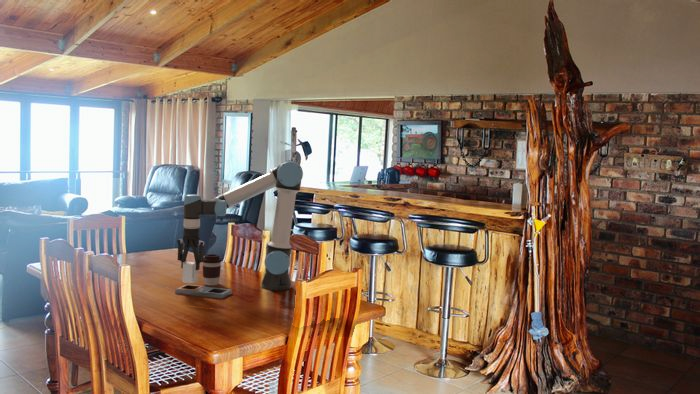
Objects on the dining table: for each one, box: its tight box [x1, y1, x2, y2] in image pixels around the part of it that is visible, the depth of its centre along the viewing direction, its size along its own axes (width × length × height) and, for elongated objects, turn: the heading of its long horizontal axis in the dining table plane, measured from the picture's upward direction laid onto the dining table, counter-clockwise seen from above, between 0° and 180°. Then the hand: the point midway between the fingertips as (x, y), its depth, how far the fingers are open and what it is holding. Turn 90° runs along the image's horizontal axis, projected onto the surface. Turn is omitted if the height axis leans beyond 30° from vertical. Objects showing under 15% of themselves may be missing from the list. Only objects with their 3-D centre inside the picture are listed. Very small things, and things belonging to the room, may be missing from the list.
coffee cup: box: [202, 253, 223, 286], centre depth 296 cm, size 10×10×15 cm
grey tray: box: [174, 284, 233, 300], centre depth 277 cm, size 24×10×3 cm, turn 76°
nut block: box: [182, 261, 198, 284], centre depth 278 cm, size 5×5×9 cm
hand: (190, 276), depth 278 cm, fingers closed on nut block, 5 cm apart
